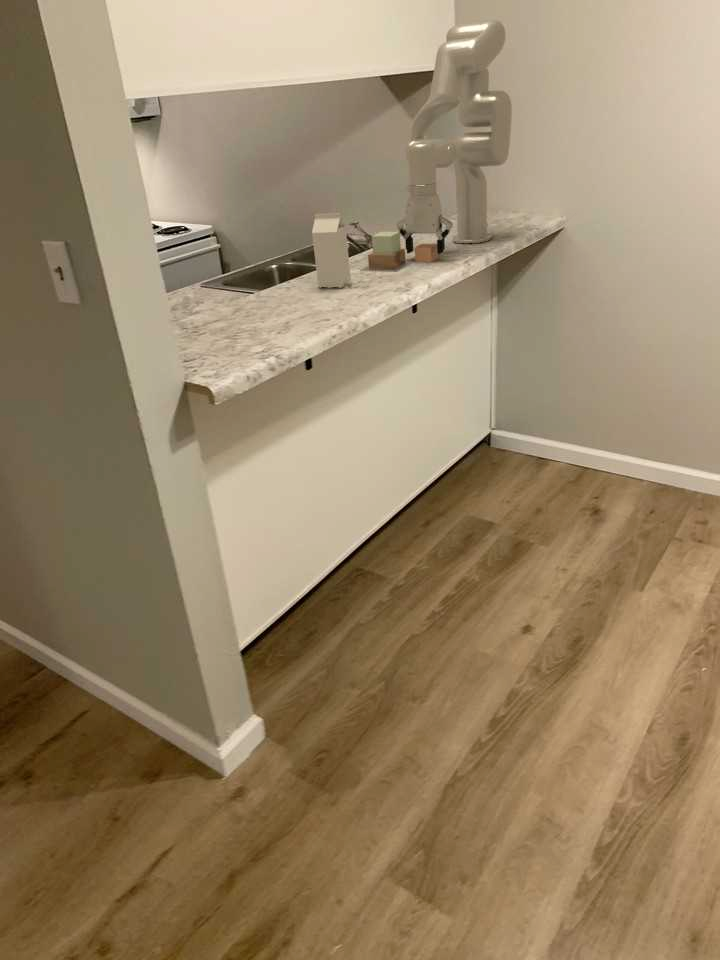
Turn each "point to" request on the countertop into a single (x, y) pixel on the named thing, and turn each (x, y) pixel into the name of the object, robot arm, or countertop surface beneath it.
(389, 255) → the walnut brick
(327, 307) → the countertop surface
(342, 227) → the milk carton
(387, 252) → the sage brick
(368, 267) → the build plate
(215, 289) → the countertop surface
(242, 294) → the countertop surface
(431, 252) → the terracotta brick
